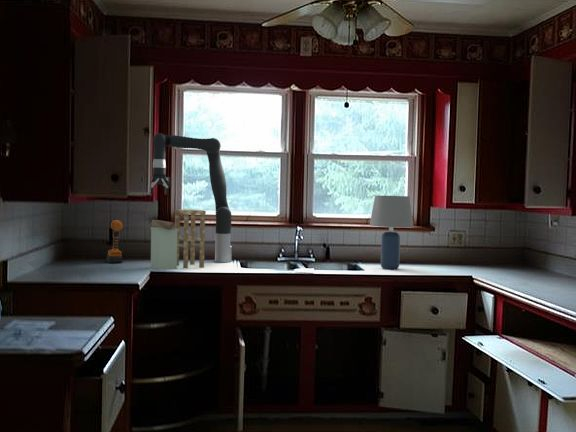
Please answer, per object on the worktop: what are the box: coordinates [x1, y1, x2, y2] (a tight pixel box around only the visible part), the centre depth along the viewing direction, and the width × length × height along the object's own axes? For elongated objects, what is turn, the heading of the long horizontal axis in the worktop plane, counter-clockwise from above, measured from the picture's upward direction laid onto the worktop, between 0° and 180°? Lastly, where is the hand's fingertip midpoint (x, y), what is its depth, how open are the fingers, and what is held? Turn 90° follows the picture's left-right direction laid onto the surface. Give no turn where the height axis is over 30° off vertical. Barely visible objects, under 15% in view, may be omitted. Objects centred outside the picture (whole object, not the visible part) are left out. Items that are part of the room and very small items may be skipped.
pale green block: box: [150, 226, 178, 270], centre depth 321 cm, size 11×15×22 cm
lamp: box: [369, 195, 414, 271], centre depth 341 cm, size 25×25×43 cm
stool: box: [174, 208, 207, 269], centre depth 329 cm, size 12×16×32 cm
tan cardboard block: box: [151, 219, 175, 230], centre depth 323 cm, size 4×28×4 cm, turn 32°
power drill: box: [106, 218, 123, 264], centre depth 342 cm, size 22×7×25 cm, turn 25°
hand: (158, 194), depth 346 cm, fingers open, 8 cm apart
